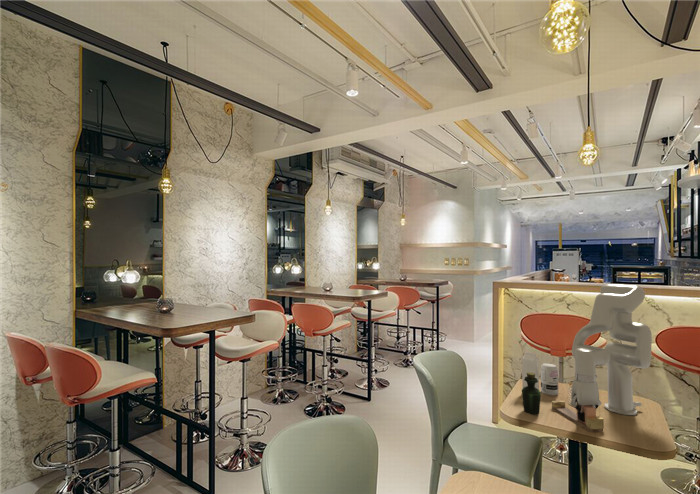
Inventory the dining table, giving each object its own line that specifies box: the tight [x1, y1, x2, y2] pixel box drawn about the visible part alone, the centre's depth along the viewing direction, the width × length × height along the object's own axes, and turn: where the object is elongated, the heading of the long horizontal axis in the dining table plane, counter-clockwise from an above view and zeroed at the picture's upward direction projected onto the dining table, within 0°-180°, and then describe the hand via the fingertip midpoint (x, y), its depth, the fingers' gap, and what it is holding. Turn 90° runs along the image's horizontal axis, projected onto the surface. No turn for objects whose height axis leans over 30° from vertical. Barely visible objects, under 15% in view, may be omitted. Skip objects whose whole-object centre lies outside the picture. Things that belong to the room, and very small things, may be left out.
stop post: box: [586, 415, 605, 430], centre depth 148 cm, size 6×2×4 cm, turn 97°
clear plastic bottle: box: [521, 351, 540, 390], centre depth 189 cm, size 6×6×22 cm
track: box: [551, 400, 604, 433], centre depth 159 cm, size 6×23×4 cm, turn 7°
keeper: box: [576, 405, 597, 424], centre depth 153 cm, size 4×6×7 cm, turn 7°
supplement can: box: [540, 362, 559, 396], centre depth 190 cm, size 8×8×15 cm
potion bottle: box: [521, 372, 542, 416], centre depth 166 cm, size 8×8×18 cm
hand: (586, 419), depth 153 cm, fingers closed on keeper, 4 cm apart
